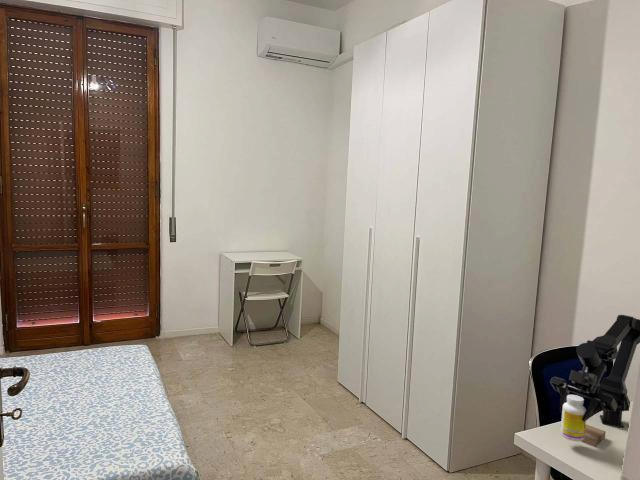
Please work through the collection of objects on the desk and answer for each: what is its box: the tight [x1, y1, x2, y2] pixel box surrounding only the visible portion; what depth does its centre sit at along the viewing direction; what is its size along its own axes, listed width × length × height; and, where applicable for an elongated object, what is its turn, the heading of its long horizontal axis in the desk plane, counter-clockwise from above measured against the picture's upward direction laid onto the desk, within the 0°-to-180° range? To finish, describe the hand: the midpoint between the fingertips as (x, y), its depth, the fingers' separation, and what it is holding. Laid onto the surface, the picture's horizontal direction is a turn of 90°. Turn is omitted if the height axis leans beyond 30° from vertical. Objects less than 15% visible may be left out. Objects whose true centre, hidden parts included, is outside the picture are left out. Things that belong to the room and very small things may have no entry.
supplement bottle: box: [560, 394, 587, 442], centre depth 146 cm, size 7×7×13 cm
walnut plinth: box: [580, 423, 607, 448], centre depth 152 cm, size 8×8×2 cm
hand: (571, 416), depth 145 cm, fingers closed on supplement bottle, 7 cm apart
